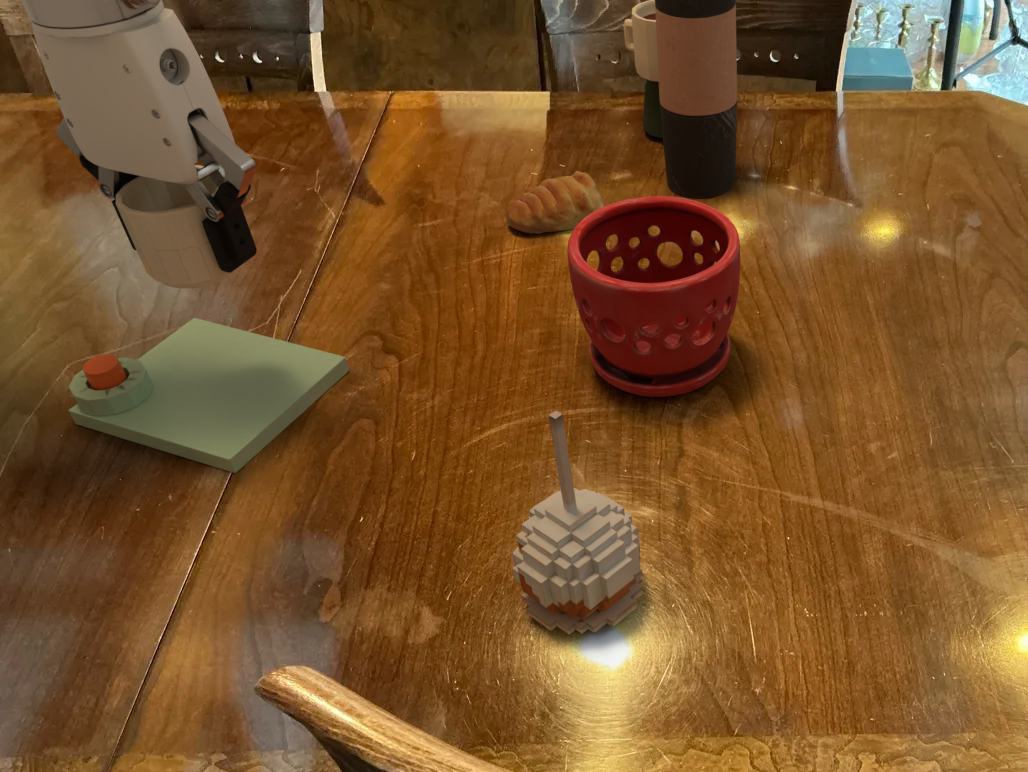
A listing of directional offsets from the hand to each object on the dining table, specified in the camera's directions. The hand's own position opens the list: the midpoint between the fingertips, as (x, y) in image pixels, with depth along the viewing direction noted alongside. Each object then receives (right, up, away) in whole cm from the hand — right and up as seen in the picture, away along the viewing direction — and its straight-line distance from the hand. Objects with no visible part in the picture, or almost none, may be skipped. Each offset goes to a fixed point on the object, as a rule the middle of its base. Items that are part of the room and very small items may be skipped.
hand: (195, 251), depth 78 cm
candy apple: (+29, -25, -6) cm, 39 cm away
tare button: (-10, -9, +7) cm, 15 cm away
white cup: (0, -1, +1) cm, 1 cm away
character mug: (+32, +25, +43) cm, 60 cm away
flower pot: (+33, -7, +11) cm, 36 cm away
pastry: (+22, +11, +30) cm, 38 cm away
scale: (-3, -9, +10) cm, 14 cm away
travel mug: (+36, +16, +34) cm, 52 cm away
